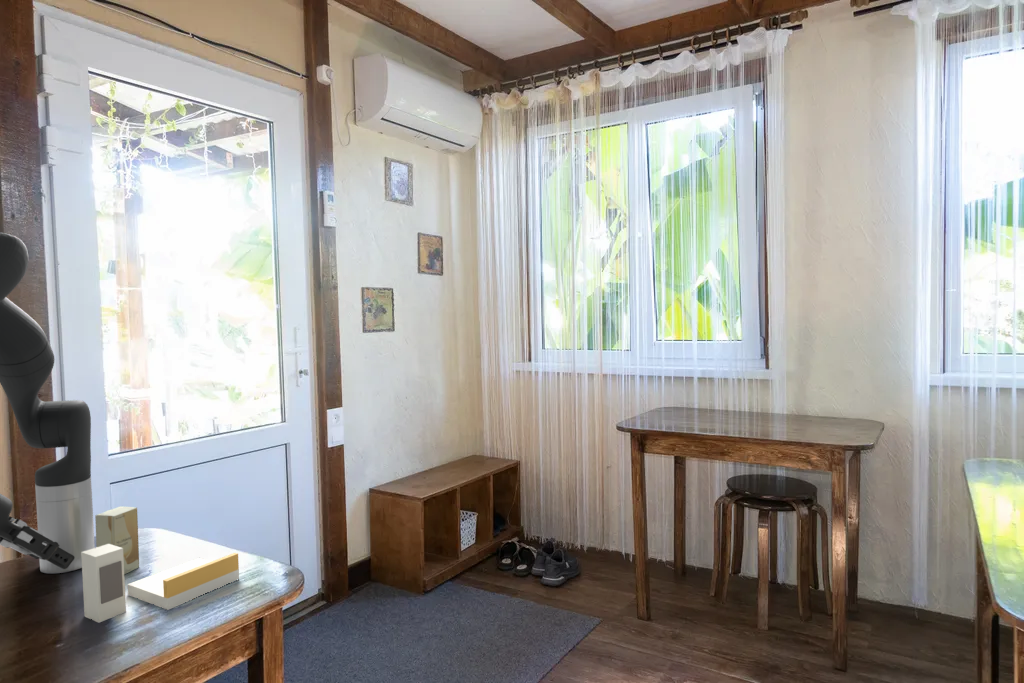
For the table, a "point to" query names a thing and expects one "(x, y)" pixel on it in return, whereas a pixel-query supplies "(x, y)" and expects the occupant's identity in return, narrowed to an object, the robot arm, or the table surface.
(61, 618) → the table surface
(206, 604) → the table surface
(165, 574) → the shelf board
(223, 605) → the table surface
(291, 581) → the table surface
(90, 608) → the product carton
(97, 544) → the skincare box
